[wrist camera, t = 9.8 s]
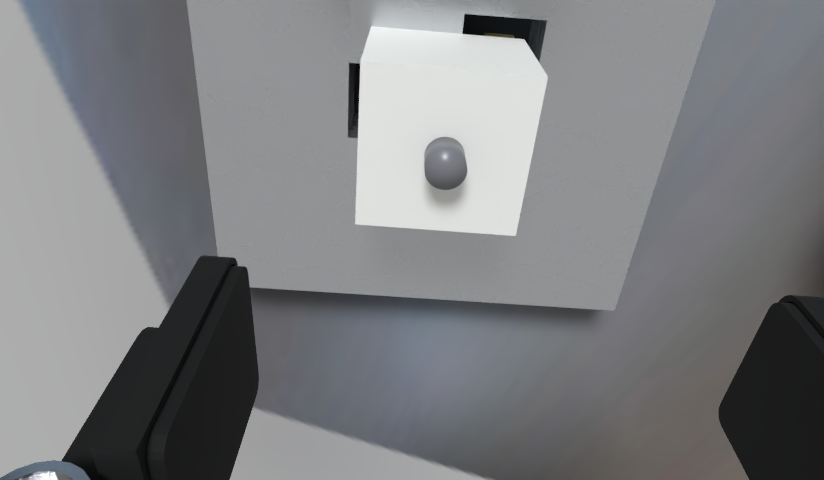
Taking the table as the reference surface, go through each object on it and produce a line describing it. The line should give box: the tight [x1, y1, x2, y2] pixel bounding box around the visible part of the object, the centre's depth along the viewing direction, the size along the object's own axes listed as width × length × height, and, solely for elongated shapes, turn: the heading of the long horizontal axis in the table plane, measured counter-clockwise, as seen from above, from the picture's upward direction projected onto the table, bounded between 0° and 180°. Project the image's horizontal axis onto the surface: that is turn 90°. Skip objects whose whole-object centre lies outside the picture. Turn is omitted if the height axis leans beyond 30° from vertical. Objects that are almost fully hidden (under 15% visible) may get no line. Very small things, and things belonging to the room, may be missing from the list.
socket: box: [187, 0, 716, 311], centre depth 25 cm, size 20×20×4 cm
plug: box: [355, 26, 548, 236], centre depth 22 cm, size 6×6×8 cm
